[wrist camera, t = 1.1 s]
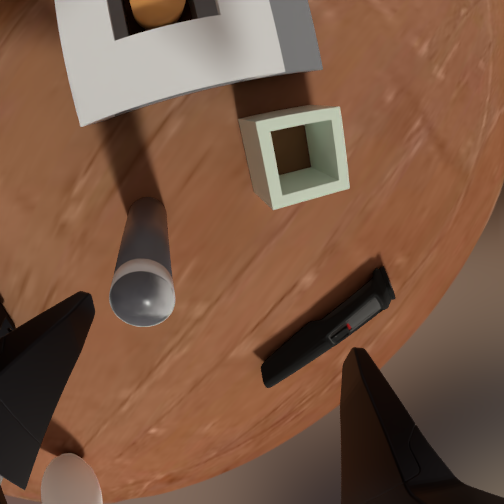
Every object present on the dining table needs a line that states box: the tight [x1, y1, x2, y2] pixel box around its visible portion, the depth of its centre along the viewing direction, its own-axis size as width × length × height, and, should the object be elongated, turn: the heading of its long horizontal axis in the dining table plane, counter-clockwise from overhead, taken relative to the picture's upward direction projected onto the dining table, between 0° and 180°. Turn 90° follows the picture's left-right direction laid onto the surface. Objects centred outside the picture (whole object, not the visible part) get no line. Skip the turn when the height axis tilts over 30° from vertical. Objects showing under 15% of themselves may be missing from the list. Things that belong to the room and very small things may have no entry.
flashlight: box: [109, 197, 175, 327], centre depth 16 cm, size 3×3×10 cm
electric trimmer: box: [261, 266, 395, 388], centre depth 28 cm, size 4×16×3 cm, turn 123°
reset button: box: [130, 0, 186, 30], centre depth 13 cm, size 3×3×3 cm
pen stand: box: [238, 105, 350, 210], centre depth 19 cm, size 5×5×4 cm
